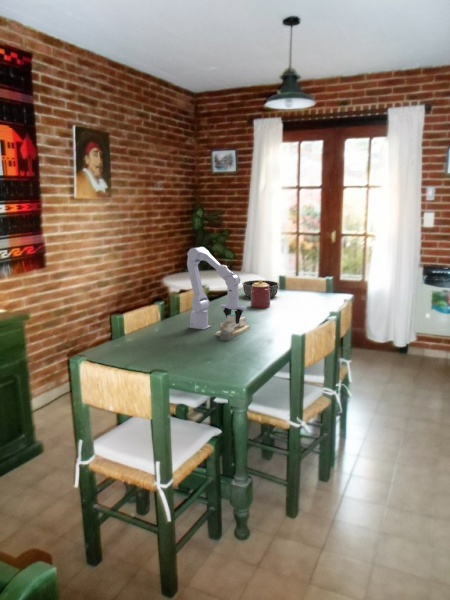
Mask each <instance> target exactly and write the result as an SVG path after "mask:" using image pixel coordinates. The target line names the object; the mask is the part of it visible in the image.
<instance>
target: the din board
mask: <svg viewBox="0 0 450 600" xmlns="http://www.w3.org/2000/svg"><path fill="white" fill-rule="evenodd" d="M246 317H247V316H242V315H241V317H240V320H239V326H237V327H235V328H234V322H227V320H226V321H223V322H222V323H219V329H220V330H218V331H216V332H215V336H218V337H220V333H221V332H224V331H225V332H232V336H233V338H235V337H237V336H239V335H240V334H242V333H244V332H246V331H248V330H250V329H251V326H250V325H246V324H247V318H246Z"/></svg>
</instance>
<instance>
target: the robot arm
mask: <svg viewBox="0 0 450 600" xmlns="http://www.w3.org/2000/svg"><path fill="white" fill-rule="evenodd" d="M186 255H187V259H186V260H187V261H186V266H187V270H188V275H189V280H190V285H191V288H192V292H193V296H192V298H191V301H192V304H191V309H192V311H191V312H190V314H189V325H190V326H189V328H191V329H197V330H206V329H209V328H210V327H212V325H209V314H208V313H209V308H210V306H211V303H210V300H209V299H208V296H207V295H206V294H205V292H204V289H203V283H202V279H201V274H200V270H199V264H200V262H201V261H205V262H206V263H208V264H209V266H211V267H213V268H214V270H216V274H217V275H218V276H219V277H220V278H221V279H222V280H224V281H225V285H226V287H227V304H220V307H219V309H222V310H223V314H224V316H225V318H226V319H227V316H228V315H230V314H232V310H234V314H235V316H236V324H238V323H239V320H240V317H241V316H242V315H243V312H247V306H244V305H239V301H240V300H239V295H240V294H239V285H240V283H241V276H239V274H237V273H234V272H233V271H231V270H230V269H229V268H228V266H227V265H225V264H221V263H220V262H219V261H218V260H217V259H216V258H215V257H214V256H213V255H212V254H211V252H210V251H209V250H208V249H207V248H206V247H204V246H199V247H191V248H190V249H189V250H188V251H187V253H186Z"/></svg>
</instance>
